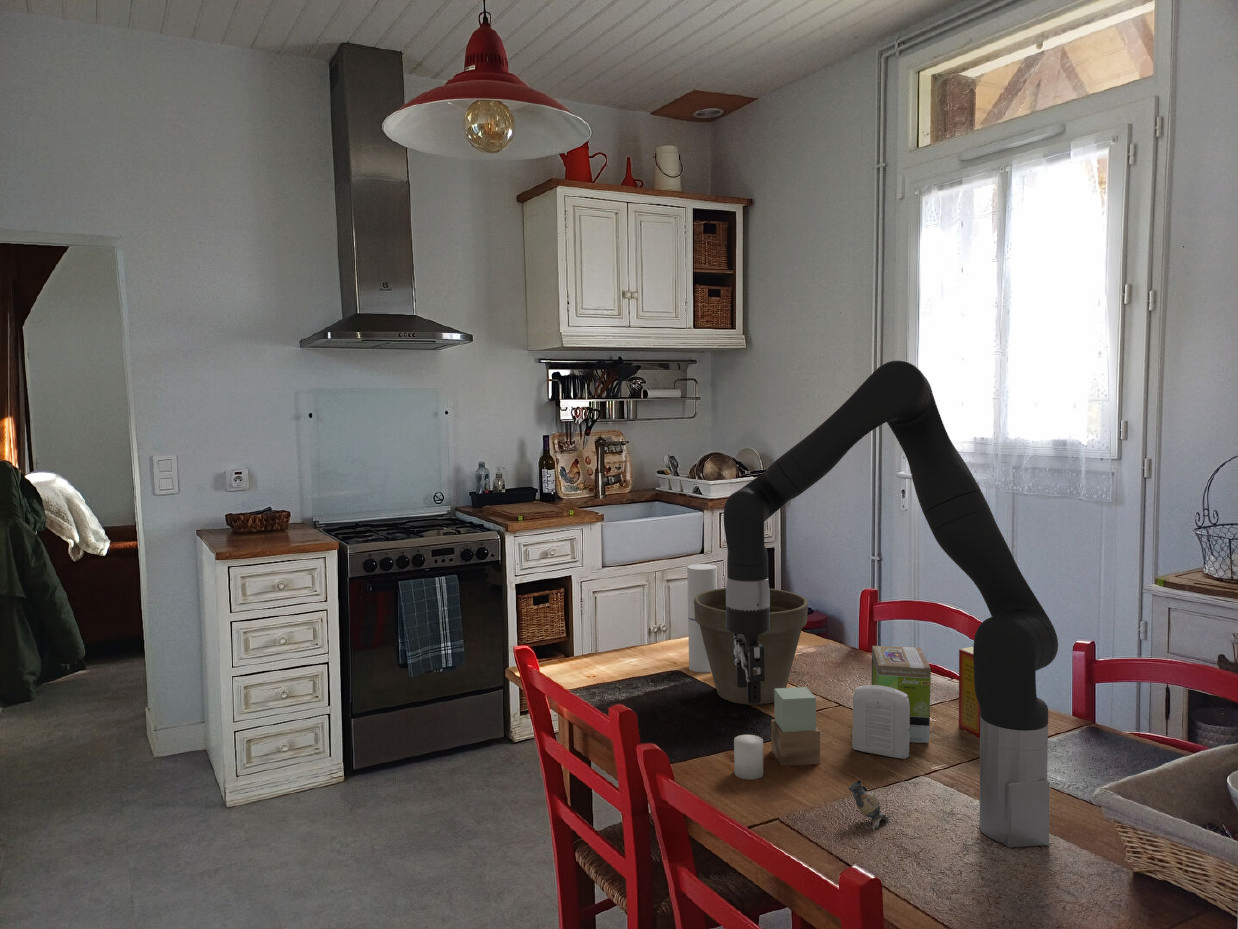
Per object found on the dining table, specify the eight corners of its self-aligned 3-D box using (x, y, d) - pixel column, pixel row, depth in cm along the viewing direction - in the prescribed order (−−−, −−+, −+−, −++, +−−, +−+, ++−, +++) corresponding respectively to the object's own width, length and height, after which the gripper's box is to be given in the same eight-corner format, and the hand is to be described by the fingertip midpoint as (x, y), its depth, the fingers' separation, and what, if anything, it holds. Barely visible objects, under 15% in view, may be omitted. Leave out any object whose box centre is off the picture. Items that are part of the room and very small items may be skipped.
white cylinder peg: (766, 778, 155) (766, 744, 154) (737, 780, 154) (737, 746, 154) (759, 767, 160) (759, 734, 159) (731, 768, 159) (731, 735, 159)
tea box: (931, 744, 168) (931, 667, 167) (876, 741, 170) (876, 665, 169) (921, 716, 183) (921, 645, 182) (870, 714, 185) (870, 643, 184)
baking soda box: (998, 721, 180) (999, 642, 178) (1022, 732, 173) (1023, 651, 172) (958, 727, 177) (959, 647, 176) (981, 738, 171) (981, 656, 170)
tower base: (820, 764, 161) (819, 731, 160) (781, 766, 160) (781, 733, 160) (808, 749, 168) (808, 717, 167) (771, 751, 167) (771, 719, 167)
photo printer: (911, 753, 165) (912, 687, 164) (906, 761, 161) (907, 694, 160) (855, 743, 170) (855, 679, 169) (849, 751, 166) (849, 686, 165)
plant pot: (831, 704, 192) (831, 603, 190) (729, 721, 183) (728, 616, 181) (770, 672, 215) (769, 582, 213) (676, 686, 206) (675, 592, 204)
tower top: (816, 730, 161) (815, 697, 160) (783, 732, 160) (782, 699, 160) (806, 718, 167) (806, 687, 166) (774, 720, 166) (774, 688, 166)
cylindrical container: (684, 665, 221) (682, 565, 220) (711, 662, 223) (709, 563, 222) (695, 673, 215) (694, 570, 213) (723, 670, 217) (721, 568, 215)
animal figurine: (840, 821, 139) (841, 783, 139) (858, 812, 143) (858, 774, 143) (872, 832, 135) (873, 792, 135) (889, 822, 139) (890, 783, 139)
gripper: (779, 612, 148) (779, 708, 150) (759, 593, 162) (759, 681, 164) (734, 614, 148) (735, 710, 149) (718, 594, 162) (719, 682, 163)
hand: (748, 694), depth 156 cm, fingers open, 8 cm apart
